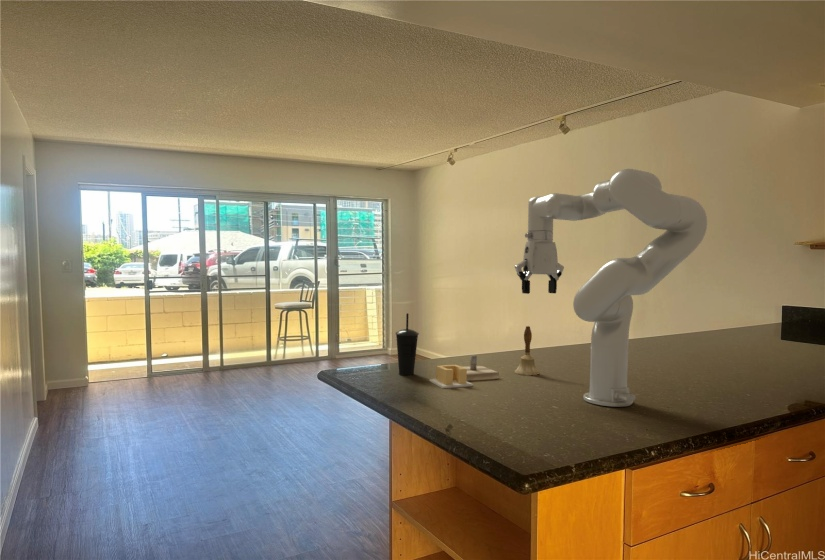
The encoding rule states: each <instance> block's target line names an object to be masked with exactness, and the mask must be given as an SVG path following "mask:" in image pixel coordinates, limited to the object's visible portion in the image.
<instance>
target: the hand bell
mask: <svg viewBox="0 0 825 560" xmlns="http://www.w3.org/2000/svg"><path fill="white" fill-rule="evenodd" d="M523 333H524V334H523V340H524V344H525V345H524V355H523V356H522V355H521V356H520V361H519V365H518V367H517V368H516V369H515V370H514V374H517V375H520V376H527V375H533V376H538V375H537V374H539V375H540V372H539V370H538V369H537V368H536V363H535V357H534V356H532V355H531V342H532V339H533V337H532V336H533V335H532V330H531V326H530V325H526V326H525V329H524V332H523Z"/></svg>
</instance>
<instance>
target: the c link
mask: <svg viewBox="0 0 825 560" xmlns="http://www.w3.org/2000/svg"><path fill="white" fill-rule="evenodd" d="M435 379H436V380H437V381H439V382H441V383H443V384H445V385H451V384H453V380H456V381H457V383H459V384H465V383H466V382H468V381H467V369H466V368H463V366H461V365H458V364H444V365H443V364H441V365H436V366H435Z"/></svg>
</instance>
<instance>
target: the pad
mask: <svg viewBox="0 0 825 560" xmlns="http://www.w3.org/2000/svg"><path fill="white" fill-rule="evenodd" d="M428 382H429V383H431V384H434V385H435V386H438V387H439V388H441V389H451V388H464V387H465V388H468V387H473V386H474V384H473V383H472V382H470V381H467V382H466V383H465V384H459V383H457V381H456V380H453V384H451V385H445V384H443V383H441V382H439V381H437V380H436V378H430V379H428Z"/></svg>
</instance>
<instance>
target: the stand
mask: <svg viewBox="0 0 825 560" xmlns="http://www.w3.org/2000/svg"><path fill="white" fill-rule="evenodd" d="M477 357H478V356H477V355H475V354H474V355H470V360H469V361H470V363H469V364H470V365H467V366H462V367H463V368H466V369H467V382H470V381H482V380H485V381H486V380H495V379H499V371H496V370H493V369H491V368H488V367H486V366H483V365H477V362H478V361H477V359H478V358H477Z"/></svg>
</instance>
